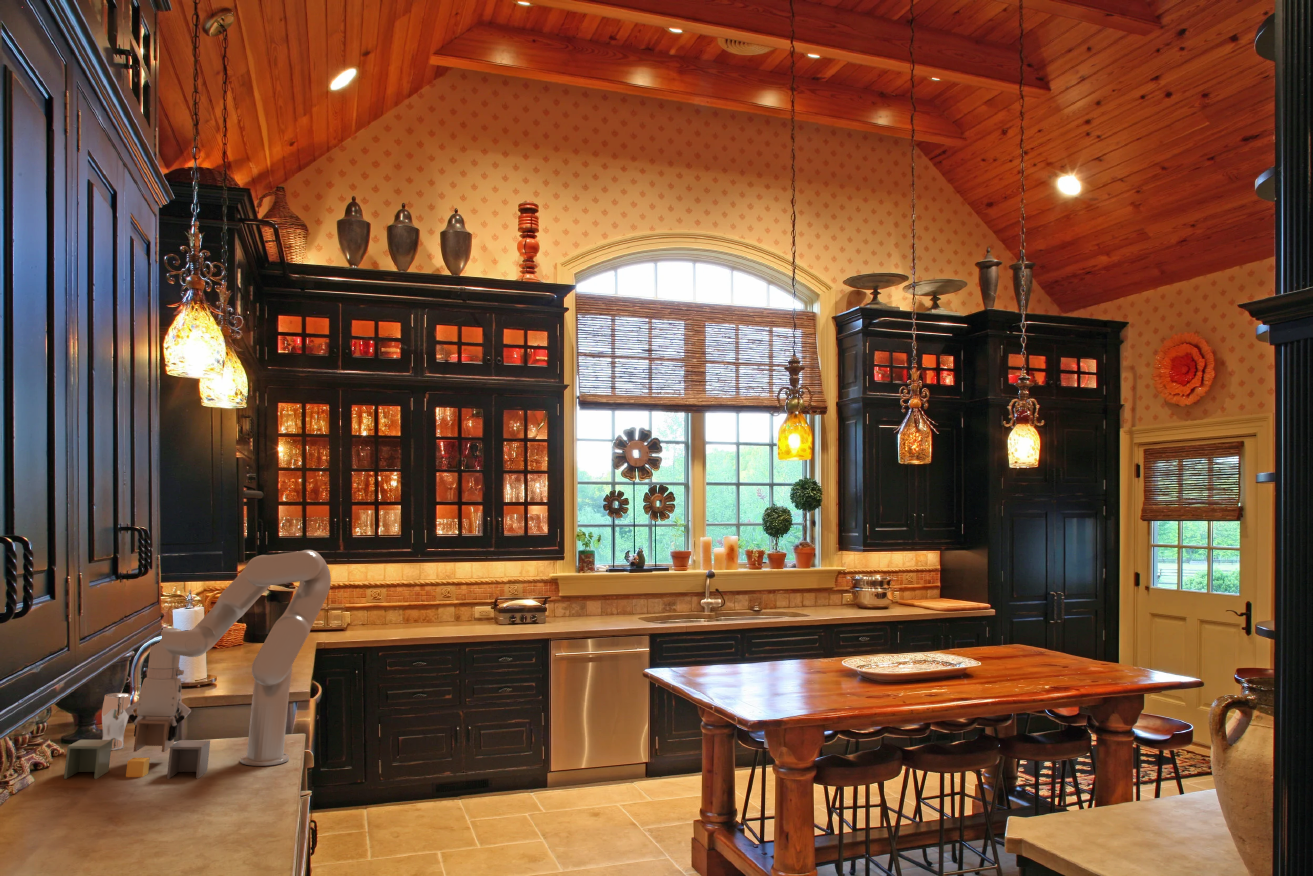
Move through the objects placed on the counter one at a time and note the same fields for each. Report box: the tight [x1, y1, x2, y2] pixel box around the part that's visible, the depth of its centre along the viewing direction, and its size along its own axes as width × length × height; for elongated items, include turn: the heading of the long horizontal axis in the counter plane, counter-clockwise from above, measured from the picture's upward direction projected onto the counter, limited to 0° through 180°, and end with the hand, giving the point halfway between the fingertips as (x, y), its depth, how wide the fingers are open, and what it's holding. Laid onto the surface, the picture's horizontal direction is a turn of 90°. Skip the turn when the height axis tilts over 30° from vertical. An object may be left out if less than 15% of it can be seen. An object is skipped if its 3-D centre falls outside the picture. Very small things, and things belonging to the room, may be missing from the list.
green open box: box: [63, 739, 112, 780], centre depth 235 cm, size 8×8×8 cm
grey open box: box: [166, 739, 211, 780], centre depth 239 cm, size 8×8×8 cm
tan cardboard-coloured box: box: [133, 717, 175, 753], centre depth 249 cm, size 8×8×8 cm
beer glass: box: [101, 692, 131, 751], centre depth 264 cm, size 7×7×15 cm
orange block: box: [125, 757, 151, 778], centre depth 237 cm, size 4×4×4 cm
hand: (154, 739), depth 249 cm, fingers closed on tan cardboard-coloured box, 7 cm apart
